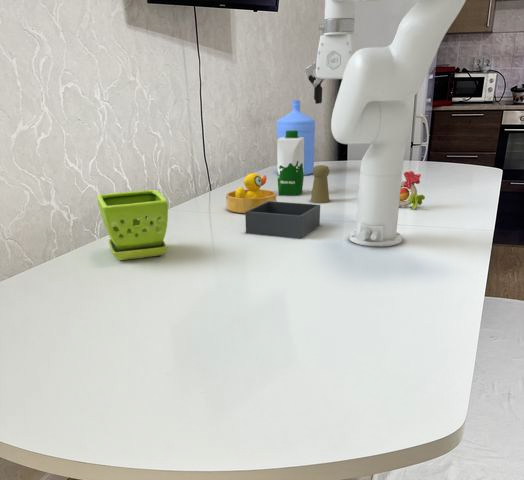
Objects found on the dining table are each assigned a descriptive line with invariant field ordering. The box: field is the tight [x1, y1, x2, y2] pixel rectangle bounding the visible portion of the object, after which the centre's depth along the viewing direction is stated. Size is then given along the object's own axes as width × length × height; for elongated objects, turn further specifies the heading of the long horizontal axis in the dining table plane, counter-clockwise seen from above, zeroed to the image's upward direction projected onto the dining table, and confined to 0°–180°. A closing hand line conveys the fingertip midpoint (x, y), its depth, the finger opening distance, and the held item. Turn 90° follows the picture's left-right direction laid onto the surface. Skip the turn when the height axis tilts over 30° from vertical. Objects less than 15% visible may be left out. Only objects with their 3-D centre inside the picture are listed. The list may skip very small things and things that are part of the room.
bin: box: [244, 201, 321, 239], centre depth 137 cm, size 14×15×6 cm
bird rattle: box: [399, 170, 426, 210], centre depth 156 cm, size 6×11×9 cm
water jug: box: [276, 99, 316, 176], centre depth 217 cm, size 16×16×28 cm
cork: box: [310, 164, 330, 204], centre depth 167 cm, size 6×6×11 cm
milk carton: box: [276, 131, 305, 196], centre depth 178 cm, size 9×9×20 cm
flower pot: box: [96, 189, 169, 261], centre depth 118 cm, size 14×14×13 cm
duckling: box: [235, 172, 267, 198], centre depth 159 cm, size 11×5×10 cm, turn 129°
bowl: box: [225, 189, 277, 214], centre depth 161 cm, size 15×15×4 cm
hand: (335, 103), depth 140 cm, fingers open, 9 cm apart
